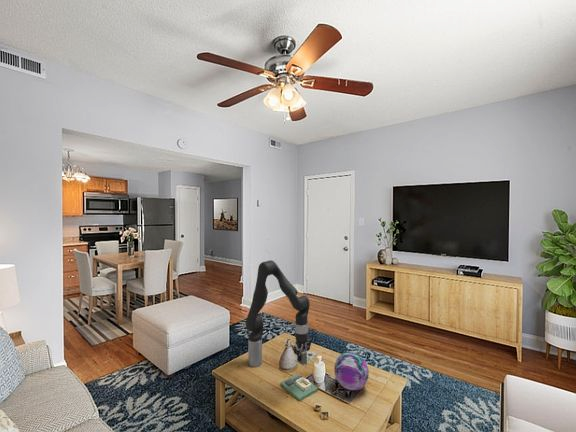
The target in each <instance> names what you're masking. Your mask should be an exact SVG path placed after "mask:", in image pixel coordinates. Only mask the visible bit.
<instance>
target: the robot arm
mask: <svg viewBox="0 0 576 432" xmlns="http://www.w3.org/2000/svg"><path fill="white" fill-rule="evenodd" d="M256 275H257V277H256V281H255V287H254V291H253V295H252V300H251V304H250V307H249V311H248V313H247V316H246V320H245V327H246V329H247V331H248V332H250V333H249V334H248V349H247V351H248V352H247V355H248V357H247V358H248V359H247V360H248V366H249V367H252V368H257V367H261V365H263V334H264V319H263V316H262V315H261V314H259V313H260V312H261V310H262V309H263V308H264V306H265V304H266V302H267V300H268V299H267V298H268V294H269V291H268V288H267V285H266V282H267V279H268V276H271V275H272V276H274V278H276V280H277V282H278V286H279V288H280V290H281V292H282V293H283V294H284V296H286V297H287V298H288V300H289V302H290V304H291V306H292V308H293V309H294V310H295V311H297V312H296V314H295V325H294V327H295V331H294V332H295V333H294V337H295V344H293V345H291V348H292V351H293V354H295V355H296V358H297V359H298V361H301V351H302V348H304V349H306V350H307V351H310V349H311V345H312V340H311V339H310V338H309V326H308V325H309V324H308V323H309V322H308V315H309V310H310V299H309V298H308V296H306V295H301V296H298V289H297V288H295V286H294V285H293V284H292V282H290V281H289V280H288V279H287V277H286V276H285V274H284V273H283V271H282V269H280V267H279V266H278V264H277V263H276V262H275V261H274V260H271V259H270V260H267V261H262V262H260V263H259V265H258V269H257V274H256Z"/></svg>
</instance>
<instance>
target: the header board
mask: <svg viewBox="0 0 576 432" xmlns="http://www.w3.org/2000/svg"><path fill="white" fill-rule="evenodd" d="M279 385H280V386H281V387H282V388H284V389H285V391H287V392H288V394H290V395H291V396H293V398H295V399H296V400H297V401H299V402H301V401H303V400H304V399H306V398H308V397H310V396H311V395H314V394H315V393H317V392H318V391H319V390H318V389H319V388H318V387H317V386H315V385H314V384H313V383H312V382H310V380H309V379H308V378H307V379H306V378H305V377H304V376H302V375H300V374H299V373H296V374H294V375H292V376H291V377H288V378H286V379H284V380H282V381H280V384H279Z"/></svg>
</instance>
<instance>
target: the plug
mask: <svg viewBox="0 0 576 432" xmlns="http://www.w3.org/2000/svg"><path fill="white" fill-rule="evenodd" d="M297 362H298V364H301V365H302V366H304V365H307V364H306V363H307V350H306V349H304V348H302V351H301V361H298V359H297V361H296V363H297Z"/></svg>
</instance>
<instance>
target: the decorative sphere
mask: <svg viewBox="0 0 576 432" xmlns="http://www.w3.org/2000/svg"><path fill="white" fill-rule="evenodd" d="M333 370H334V375H335V378H336V381H337V382H338V383H339V385H340V386H342V387H343V388H344V389H346V390H348V391H358V390H361V389H362V388H363V387H365V386H366V384H367V383H368V380H369V374H370V372H369V368H368V364H367V361H366V360H365V359H364V358H363V356H361V355H360V354H358V353H357V352H354V351H346V352H343V353H341V354H340V355H338V356H337V358H336V360H335V362H334V367H333Z"/></svg>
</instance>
